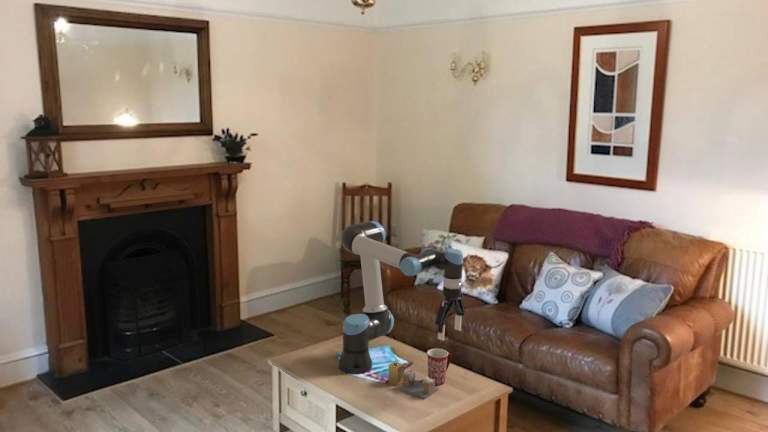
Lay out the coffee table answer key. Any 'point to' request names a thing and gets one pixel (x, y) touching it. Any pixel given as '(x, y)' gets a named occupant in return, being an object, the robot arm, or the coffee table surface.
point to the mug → (438, 365)
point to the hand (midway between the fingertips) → (449, 334)
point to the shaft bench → (418, 385)
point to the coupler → (396, 373)
